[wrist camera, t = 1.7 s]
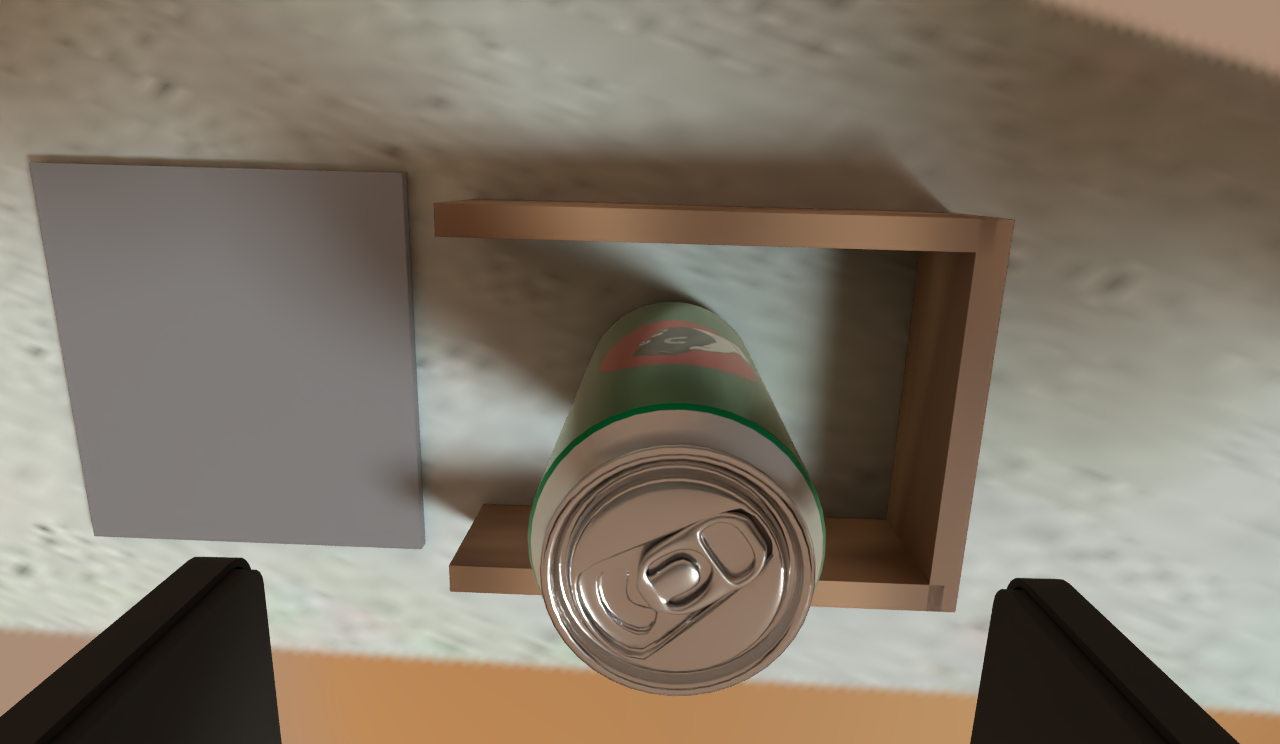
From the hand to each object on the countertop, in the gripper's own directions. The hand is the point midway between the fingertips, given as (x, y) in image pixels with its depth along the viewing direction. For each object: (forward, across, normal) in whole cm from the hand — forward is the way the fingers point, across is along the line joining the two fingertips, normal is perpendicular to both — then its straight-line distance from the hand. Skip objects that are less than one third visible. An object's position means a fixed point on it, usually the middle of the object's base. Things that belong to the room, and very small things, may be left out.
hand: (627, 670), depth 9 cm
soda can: (+14, -1, 0) cm, 14 cm away
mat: (+14, +12, 0) cm, 19 cm away
